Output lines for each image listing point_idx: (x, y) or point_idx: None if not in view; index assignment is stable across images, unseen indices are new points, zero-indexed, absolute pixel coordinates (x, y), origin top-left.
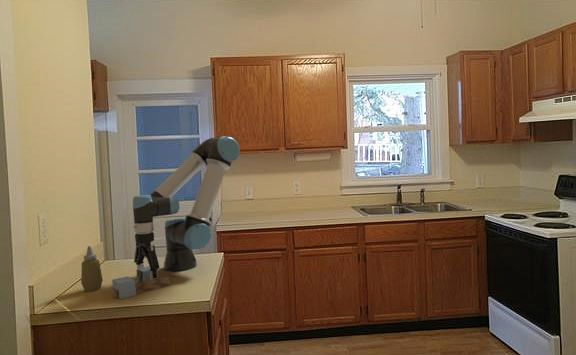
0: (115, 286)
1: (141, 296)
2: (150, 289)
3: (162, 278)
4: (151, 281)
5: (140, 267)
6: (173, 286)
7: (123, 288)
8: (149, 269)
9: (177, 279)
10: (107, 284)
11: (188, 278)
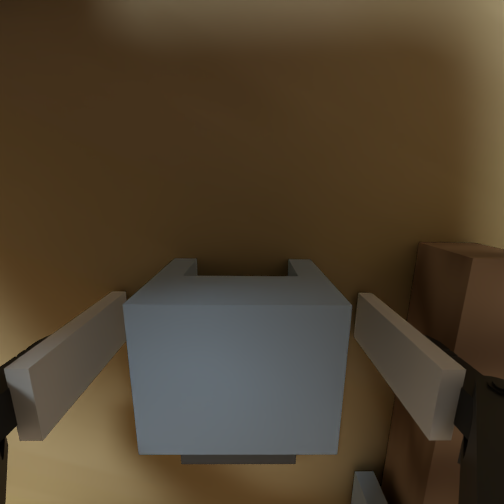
0: None
1: None
2: None
3: (495, 312)
4: None
5: (60, 382)
6: (496, 226)
7: None
8: (292, 379)
9: (351, 101)
10: (65, 484)
11: (413, 6)
